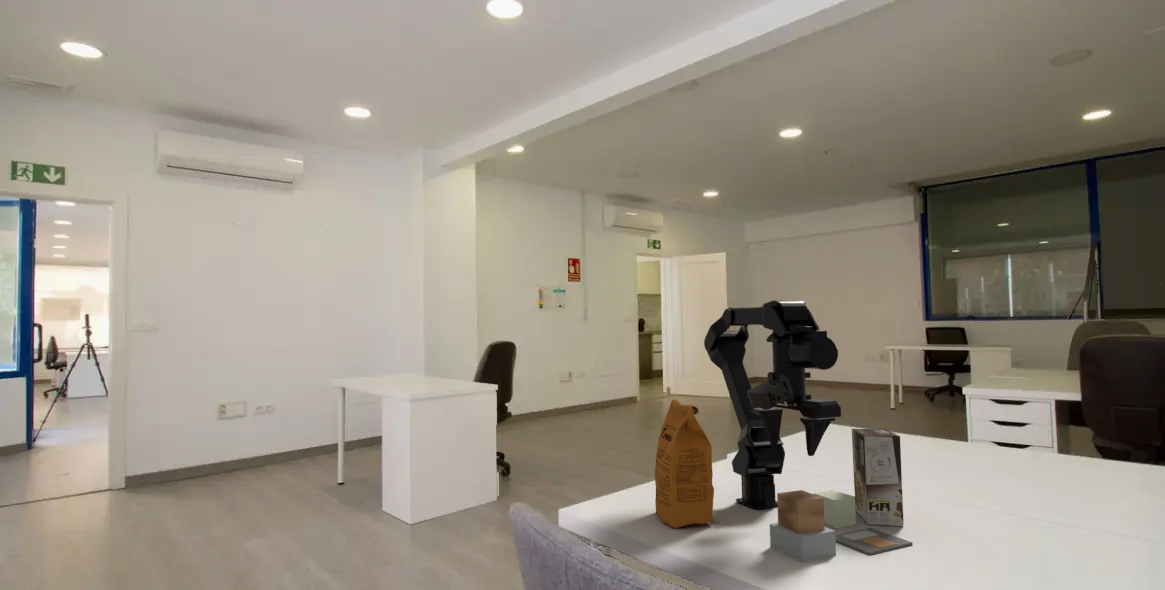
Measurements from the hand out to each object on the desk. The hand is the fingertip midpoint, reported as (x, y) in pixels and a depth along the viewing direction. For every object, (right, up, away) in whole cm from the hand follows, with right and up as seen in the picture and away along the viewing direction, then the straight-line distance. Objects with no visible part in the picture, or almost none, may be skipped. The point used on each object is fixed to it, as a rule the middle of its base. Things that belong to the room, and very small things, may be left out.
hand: (791, 451), depth 108 cm
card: (+9, -12, -11) cm, 19 cm away
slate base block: (-4, -12, -15) cm, 19 cm away
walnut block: (-4, -9, -14) cm, 17 cm away
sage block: (+8, -13, -1) cm, 15 cm away
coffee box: (+17, -13, +1) cm, 21 cm away
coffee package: (-20, -14, +2) cm, 24 cm away
